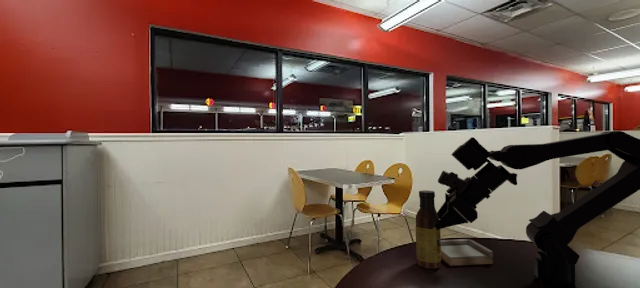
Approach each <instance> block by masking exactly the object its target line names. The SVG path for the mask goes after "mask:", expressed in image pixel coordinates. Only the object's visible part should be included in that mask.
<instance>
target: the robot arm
mask: <svg viewBox="0 0 640 288" xmlns="http://www.w3.org/2000/svg"><path fill="white" fill-rule="evenodd" d="M606 151H609V152H610V153H611V154H613V155H614V156H616V157H617V158H619V159H621V160H623V162H622V163H621V165H620V166H619V169H618V171H617V172H616V173H615V174H614V175H612V176H611V177H609V178H608V179H606V180H605V181H603V182H601V183H600V184H599V185H597V186H596V187H595V188H593V189H591V190H590V191H589V192H587V193H585V194H584V195H582V196H581V197H579V198H578V199H577V200H575V201H574V202H572V203H571V204H569V205H568V206H566V207H565V208H563V209H562V210H561V211H558V212H556V213H551V214H550V213H548V212H547V211H546V210H543V211H541V212H540V213H539V214H538V215H536V217H533V218H530V219H528V221H529V223H528V224H527V225H526V227H525V234H526V237H527V238H528V240H530V241H531V243H533V244H534V245H535V246H536V248H537V250H539V251H536V257H534V258H533V267H534V268H533V270H534V271H533V274H534V276H535V277H536V278H537V279H538V281H539V282H540V283H541V284H542V285H543V286H545V287H549V288H580V287H578V285H577V284H576V264H577V263H578V261H579V259H580V254H578V253H577V252H576V251H575V250H574V249H573V248H571V246H569V244H570V243H572V241H573V239H574V238H575V236H576V234H577V233H578V230H579V229H581V228H582V227H584V226H585V225H587V224H588V223H590V222H591V221H593V220H595V219H596V218H598V217H599V216H601V215H602V214H605V212H607V211H609V210H610V209H612V208H613V207H615V206H617V205H619V204H620V203H622V202H623V201H625V200H626V199H628V198H629V197H631V196H632V195H634V194H635V193H637V192H638V191H640V138H637V137H635V136H633V135H631V134H628V133H626V132H625V131H622V130H610V131H603V132H600V133H595V134H592V135H586V136H579V137H574V138H569V139H563V140H559V141H552V142H547V143H533V144H531V143H530V144H527V143H526V144H508V145H505V146H503V147H502V148H501V149H500V150H490V151H488V149H486V148H485V147H484V146H483V145H482V144H480V142H479V141H478V140H477V138H475V137H470V138H469V139H467V140H466V141H465V142H464V143H463V144H461V145H458V146H457V148H456V149H455V150H454V151H453V152H452V153H451V156H452V157H453V158H454V159H455V160H456V161H457V162H459V163H460V164H461V165H462V166H463V167H464V168H465V169H466V170H468V171H471V169H473V171H477V170H478V171H477V172H475V174H473V175H472V176H471V177H470V176H469V177H468V176H466V178H464V179H463V178H461V177H459V175H458V173H455V172H453V171H451V172H447V171H446V170H442V171H441V173H440V175H439V178H438V179H437V183H439V184H440V185H442V186H446V187H448V189H447V190H446V192H445V193H444V195H445V197H444V198H445V200H444V202H443V204H442V205H441V206H440V208H439V209H438V210H437V211H436V212H437V215H438V217H439V221H438V222H437V223H436V225H435V228H436V229H440V230H442V229H445V228H449V227H454V226H459V225H464V224H469V223H470V224H473V222H475V221H476V220H477V219H478V217H479V216H478V211H477V208H478V206H477V205H479V204H480V203H481V202H482V201H483V200H485V199H486V200H488V199H490V197H491V194H492V193H493V192H494V191H496V190H497V189H498V188H500V187H501V186H502V185H503V184H504V183H505V182H507V181H508V183H510V184H512V185H513V186H517V185H518V179H517V178H518V174H517V173H515V172H510V171H509V170H508V169H507V168H510V169H513V170H525V169H528V168H531V167H534V166H537V165H540V164H542V163H544V162H547V161H550V160H555V159H561V158H566V157H567V158H569V157H574V156H580V155H586V154H592V153H597V152H606ZM492 161H495V162H498V163H499V162H500V163H501V164H502V165H501V164H499V165H496V164H494V163H493V162H492ZM484 164H485V165H484ZM504 166H505V167H504ZM506 167H507V168H506Z"/></svg>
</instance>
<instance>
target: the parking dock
mask: <svg viewBox="0 0 640 288" xmlns="http://www.w3.org/2000/svg"><path fill="white" fill-rule="evenodd" d="M493 252H494V251H492V250H491V249H489V248H488V247H485V246H484V245H482V244H480V243H478V242H476V241H475V240H473V239H472V238H471V239H470V238H461V239H460V238H459V239H443V240H442V239H441V261H444V262H445V263H446V264H447V265H448V266H450V267H452V266H453V267H454V266H455V267H456V266H473V265H493V264H494V253H493Z"/></svg>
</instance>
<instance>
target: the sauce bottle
mask: <svg viewBox="0 0 640 288" xmlns="http://www.w3.org/2000/svg"><path fill="white" fill-rule="evenodd" d="M435 197H436V192H435V191H434V190H426V189H425V190H424V189H423V190H419V191H418V198H419V209H418V211H417V212H416V215H415V253H416V264H417V265H418V266H419V267H421V268H424V269H426V270H436V269H439V268H440V267H441V265H442V264H441V263H442V262H441V261H442V259H441V240H442V239H441V238H442V237H441V229H436V228H435V225H436V223H437V222H438V221H439V220H440V219H439V217H438V215H437V212H438V211H437V209H436V206H435Z"/></svg>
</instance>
